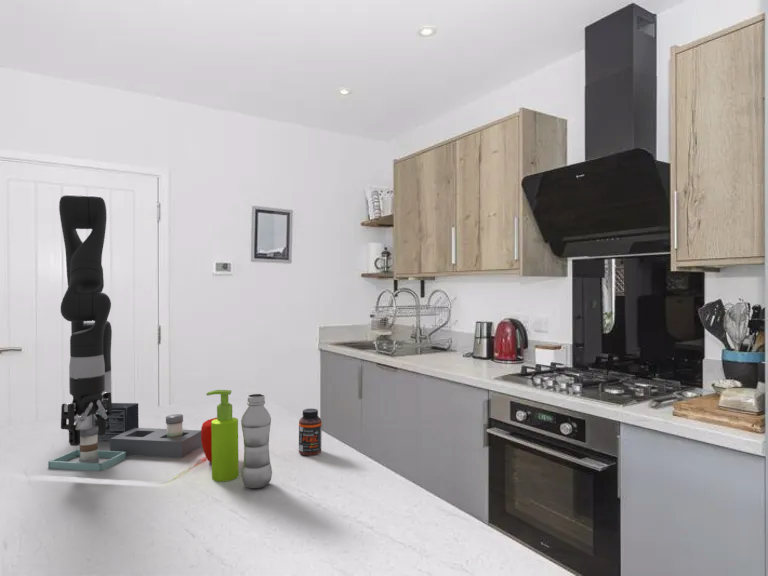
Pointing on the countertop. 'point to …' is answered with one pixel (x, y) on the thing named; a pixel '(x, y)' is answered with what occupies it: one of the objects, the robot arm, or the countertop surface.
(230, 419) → the soap dispenser
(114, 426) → the small box
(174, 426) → the block
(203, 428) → the apple
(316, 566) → the countertop surface
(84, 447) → the fuse
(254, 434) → the plastic bottle
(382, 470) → the countertop surface
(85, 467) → the tray
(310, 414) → the supplement bottle
